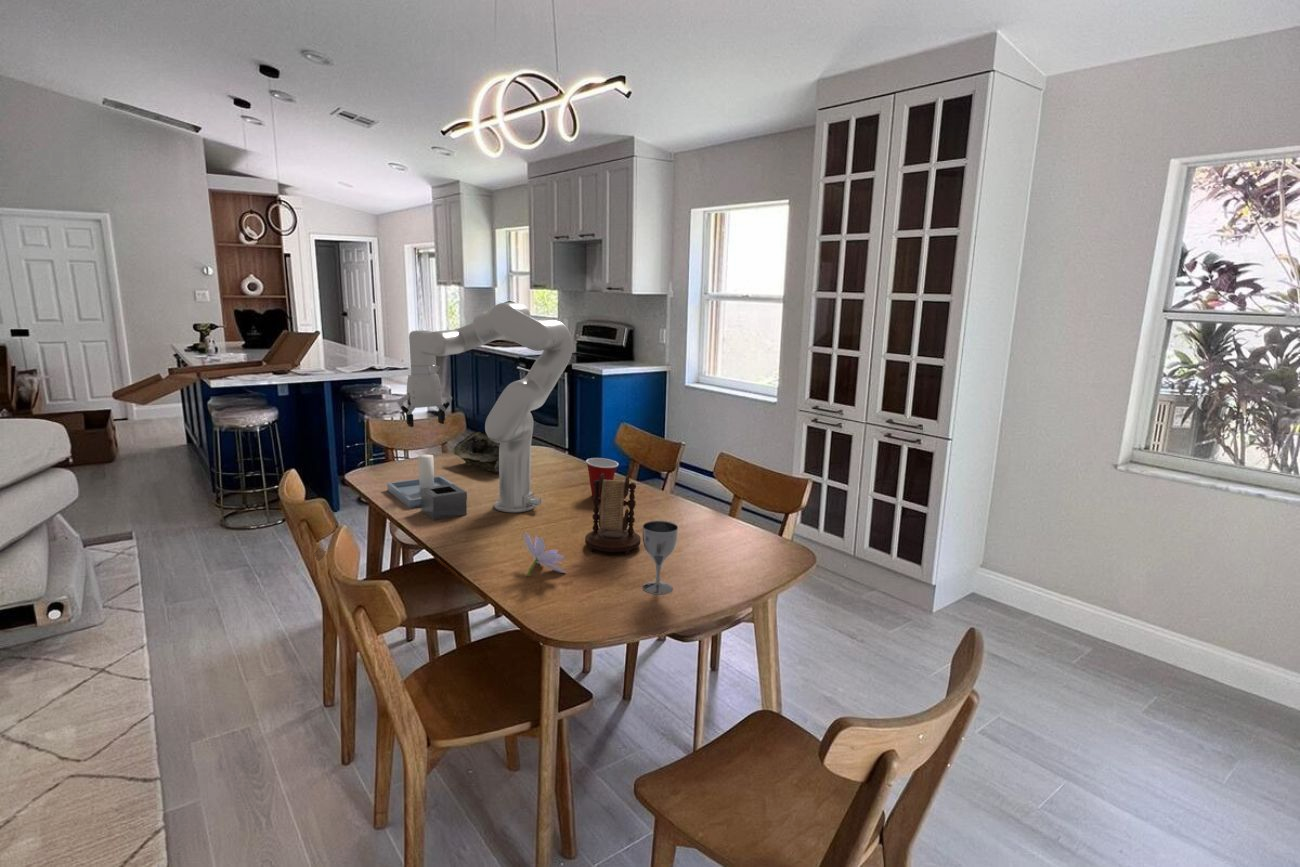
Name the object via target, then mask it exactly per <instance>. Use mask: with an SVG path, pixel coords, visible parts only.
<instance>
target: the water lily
mask: <svg viewBox="0 0 1300 867" xmlns="http://www.w3.org/2000/svg"><path fill="white" fill-rule="evenodd" d="M522 536H523V538H524V543H525V546H526V548H527V550H528V552H529V553H530V554H531V555H532V556H533V563H532V564H531V566H530V568H529V570H528V571H527V574H526V577H530V575H531V573H532V571H533V569H534V567H535V565H536V564H542V565H544V566H546V567H547V568H549V569H551V570H552V571H555V572H558V573H562V574H567V572H566V571H565V570H564V569H563V568H561V567H560V566H557V565H559V564H560V565H561V564H564V562H561V560H563V559H565V558H566V556H564V555H561V554H559V553H558V552H559V550H558V549H549V550H545V549H546V543H545V540H544V538H543V537H538V534H535V538H534V544H533V540H532V538H531V536H530V534H529V533H528V532H526V534H525V533H524V532H522Z"/></svg>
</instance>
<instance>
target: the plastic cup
mask: <svg viewBox="0 0 1300 867" xmlns="http://www.w3.org/2000/svg"><path fill="white" fill-rule="evenodd" d="M585 462H586V465H587V470H588V476H589V477H588V478H589V485H590V490H591V495H592V497H595V496H594V491H595V489H594V487H595V486H594V485H593V482H594V481H595V480H600V476H601V474H602V473H603V474H604V479H605V480H614V478H615V473H616V471H617V468H618V466H619V462H618V461H616V460H613V459H610V458H602V457H591V458H587V459H586V460H585ZM598 490H599V489H598ZM599 498H600V499H601V494H600V493H599Z"/></svg>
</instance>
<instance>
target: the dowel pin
mask: <svg viewBox="0 0 1300 867" xmlns="http://www.w3.org/2000/svg"><path fill="white" fill-rule="evenodd" d="M434 466H435V464H434V455H433V454H421V455H418V479H419V489H420V494H421V488H428V487H434V477H435V475H434V474H435V471H434V470H435V467H434Z"/></svg>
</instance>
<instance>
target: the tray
mask: <svg viewBox="0 0 1300 867" xmlns="http://www.w3.org/2000/svg"><path fill="white" fill-rule="evenodd" d="M386 484H387V485H386V486H387V488H386V489H387V491H388V492H389V493H391V494H392V496H394V497H395V498H396V499H398V500H399V501H400V502H401V503H403V504H404V505H406V506H407V507H408V508H409V509H416V508H421V494H420V489H419V478H414V479H408V480H399V481H392V482H391V481H389V482H387V483H386ZM449 484H454V485H456V486H457V487H459V488H461V487H460V486H459V485H457V484H455V483H453V482H452V481H450V480H449V479H447V478H446V477H444V476H442V475H437V476H435V475H434V487H435V486H442V485H449ZM461 489H462V490H464V491H465V492H466V500H467V499H468V492H467V491H466V490H465V489H463V488H461Z"/></svg>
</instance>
